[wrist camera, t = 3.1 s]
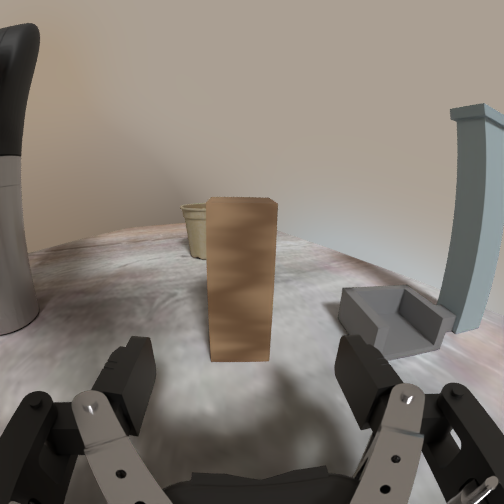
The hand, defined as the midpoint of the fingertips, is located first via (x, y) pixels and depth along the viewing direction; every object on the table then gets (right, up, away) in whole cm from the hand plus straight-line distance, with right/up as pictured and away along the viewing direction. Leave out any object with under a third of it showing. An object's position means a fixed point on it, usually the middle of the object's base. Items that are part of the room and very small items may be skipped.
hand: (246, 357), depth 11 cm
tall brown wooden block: (-1, -4, +12) cm, 12 cm away
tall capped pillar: (+18, -4, +13) cm, 22 cm away
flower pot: (-7, +4, +38) cm, 39 cm away
